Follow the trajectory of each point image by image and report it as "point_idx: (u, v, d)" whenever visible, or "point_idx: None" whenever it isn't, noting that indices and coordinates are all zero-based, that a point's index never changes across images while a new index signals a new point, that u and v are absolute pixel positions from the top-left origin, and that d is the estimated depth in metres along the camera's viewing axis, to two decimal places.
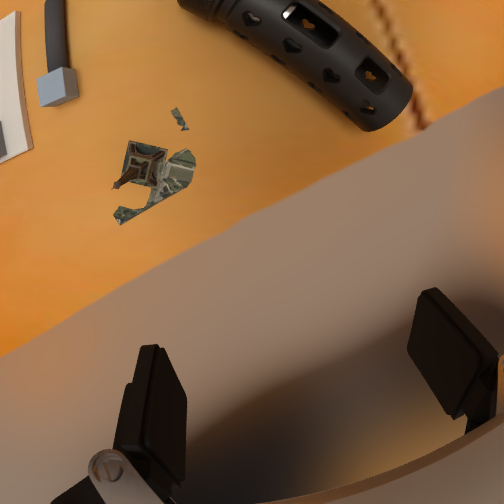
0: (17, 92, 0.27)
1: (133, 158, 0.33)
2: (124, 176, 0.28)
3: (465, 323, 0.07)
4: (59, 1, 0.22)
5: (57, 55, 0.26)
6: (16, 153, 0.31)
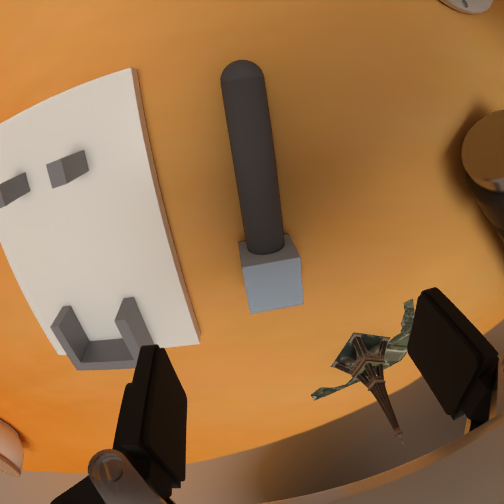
0: (169, 258, 0.22)
1: (368, 363, 0.28)
2: (390, 410, 0.24)
3: (465, 323, 0.07)
4: (263, 88, 0.17)
5: (274, 219, 0.21)
6: (174, 345, 0.26)
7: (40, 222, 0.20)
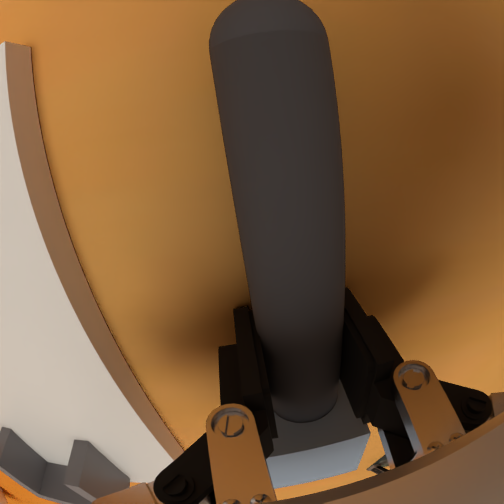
0: (130, 412, 0.11)
1: None
2: None
3: (365, 325, 0.09)
4: (331, 68, 0.06)
5: (330, 374, 0.09)
6: None
7: None
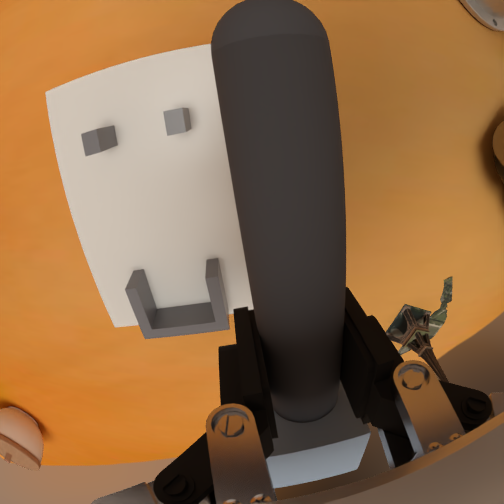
0: None
1: (418, 331, 0.31)
2: (441, 371, 0.26)
3: (365, 325, 0.09)
4: (332, 71, 0.06)
5: (331, 374, 0.09)
6: (249, 309, 0.28)
7: (124, 178, 0.22)
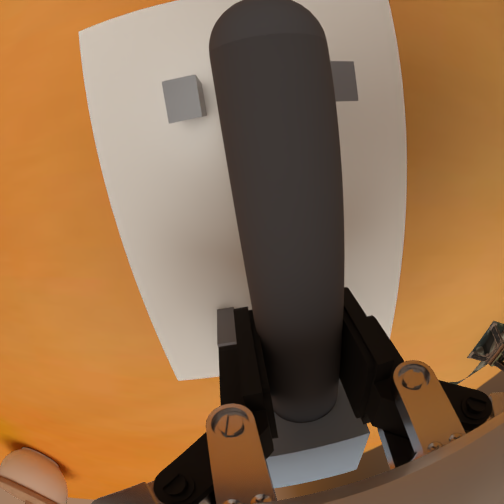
0: (400, 234, 0.17)
1: None
2: None
3: (365, 325, 0.09)
4: (330, 70, 0.06)
5: (330, 374, 0.09)
6: None
7: (216, 170, 0.14)
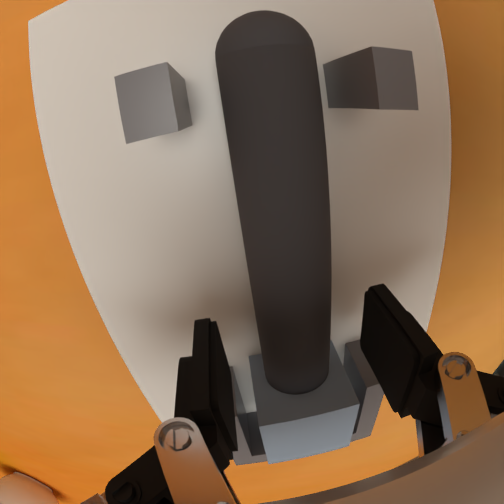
0: (436, 274, 0.13)
1: None
2: None
3: (406, 319, 0.08)
4: (317, 74, 0.07)
5: (321, 345, 0.11)
6: None
7: (206, 202, 0.10)
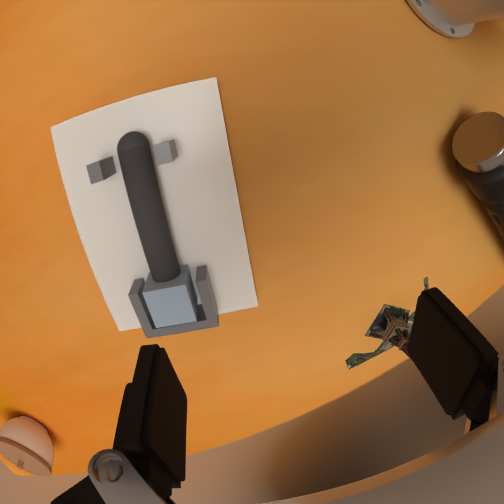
0: (241, 229, 0.29)
1: (397, 327, 0.35)
2: None
3: (465, 323, 0.07)
4: (147, 153, 0.23)
5: (165, 255, 0.26)
6: (236, 309, 0.32)
7: (123, 200, 0.26)
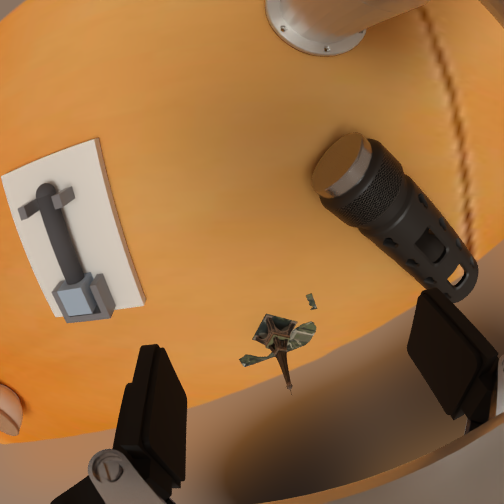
0: (121, 248, 0.36)
1: (275, 336, 0.43)
2: (286, 370, 0.38)
3: (465, 323, 0.07)
4: None
5: (70, 266, 0.34)
6: (128, 306, 0.40)
7: None
